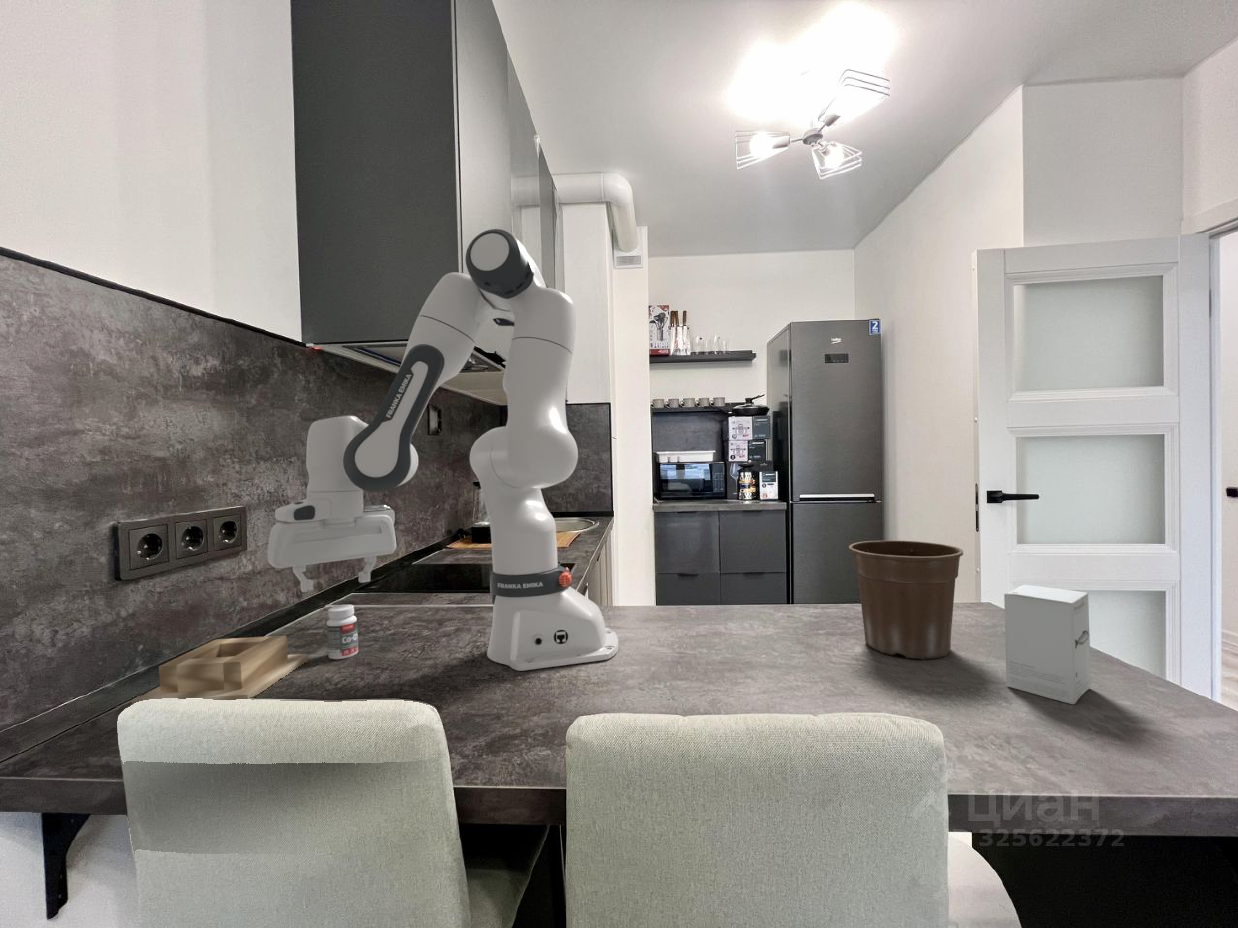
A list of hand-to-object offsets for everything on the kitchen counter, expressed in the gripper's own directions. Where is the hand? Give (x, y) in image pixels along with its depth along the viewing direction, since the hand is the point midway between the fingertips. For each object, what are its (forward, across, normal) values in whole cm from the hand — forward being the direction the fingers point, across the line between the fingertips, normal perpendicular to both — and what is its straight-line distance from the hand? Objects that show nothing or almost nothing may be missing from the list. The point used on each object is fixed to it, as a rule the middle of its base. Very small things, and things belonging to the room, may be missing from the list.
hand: (336, 586), depth 95 cm
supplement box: (+10, -55, +93) cm, 109 cm away
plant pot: (+10, -61, +75) cm, 97 cm away
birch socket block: (+13, +15, -2) cm, 20 cm away
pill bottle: (+12, -1, 0) cm, 12 cm away
